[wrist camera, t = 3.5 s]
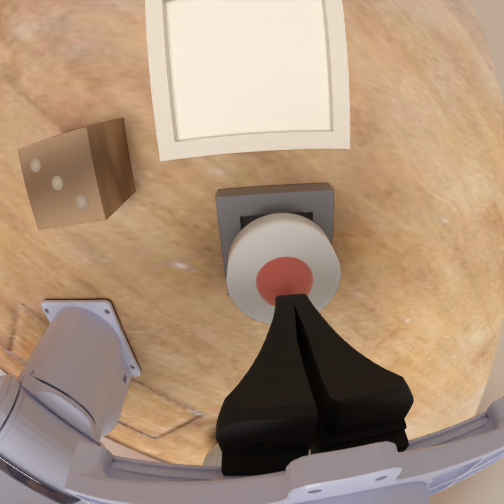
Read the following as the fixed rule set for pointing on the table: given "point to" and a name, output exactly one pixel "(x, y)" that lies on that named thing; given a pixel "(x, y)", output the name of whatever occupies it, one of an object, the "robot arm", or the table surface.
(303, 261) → the dome
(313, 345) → the robot arm
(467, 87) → the table surface
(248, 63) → the die pad
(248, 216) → the grey button base
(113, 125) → the die
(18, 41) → the table surface
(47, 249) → the table surface
